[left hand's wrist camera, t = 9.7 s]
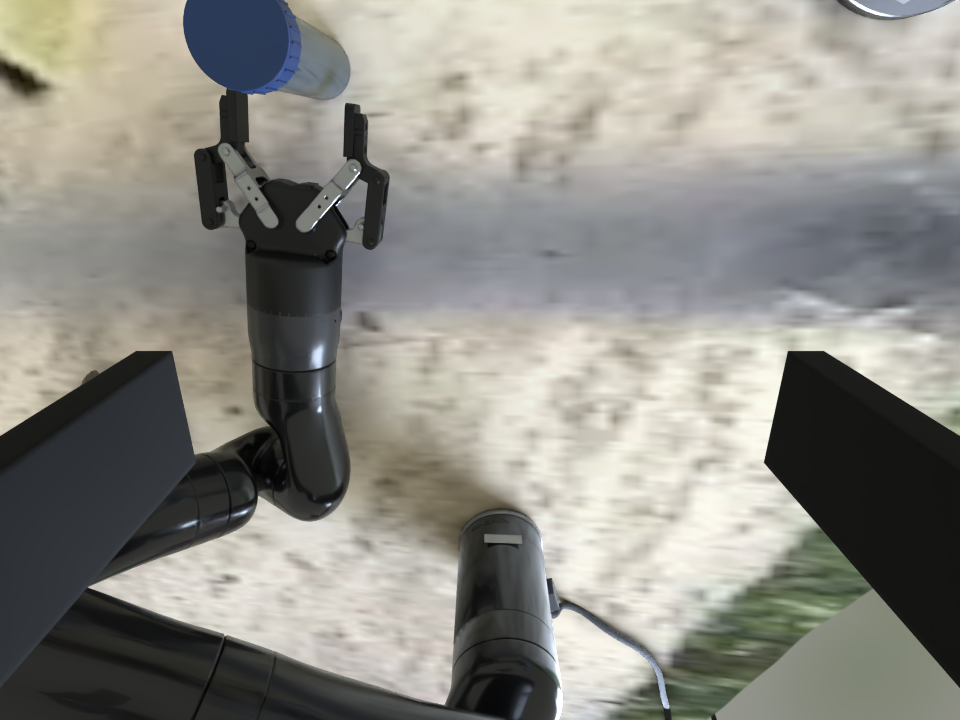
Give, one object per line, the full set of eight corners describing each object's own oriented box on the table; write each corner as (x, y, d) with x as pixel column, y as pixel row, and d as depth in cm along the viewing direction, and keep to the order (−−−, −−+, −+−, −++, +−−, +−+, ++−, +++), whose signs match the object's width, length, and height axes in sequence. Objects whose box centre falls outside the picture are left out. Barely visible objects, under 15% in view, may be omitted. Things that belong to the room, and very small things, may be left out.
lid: (241, -45, 31) (223, -58, 29) (323, 40, 33) (311, 33, 31) (182, 39, 33) (160, 32, 31) (262, 116, 34) (247, 115, 32)
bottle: (316, 20, 45) (229, -40, 30) (362, 68, 46) (301, 34, 31) (279, 67, 46) (177, 34, 31) (325, 113, 48) (248, 102, 32)
